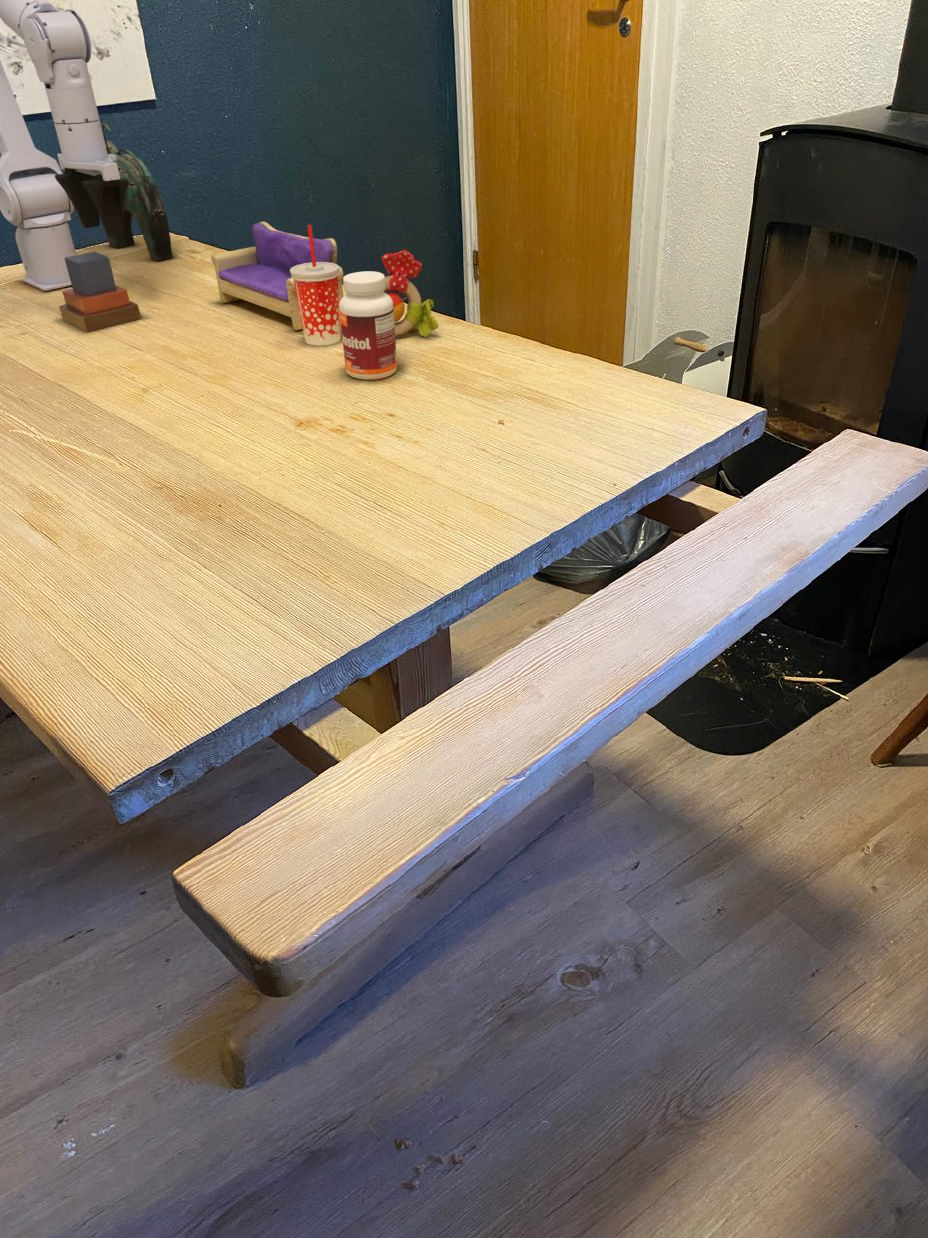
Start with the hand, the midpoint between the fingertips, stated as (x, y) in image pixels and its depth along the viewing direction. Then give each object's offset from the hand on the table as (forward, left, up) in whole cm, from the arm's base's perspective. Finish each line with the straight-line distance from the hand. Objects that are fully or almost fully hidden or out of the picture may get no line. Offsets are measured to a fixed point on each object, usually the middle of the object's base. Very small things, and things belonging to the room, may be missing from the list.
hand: (103, 230), depth 127 cm
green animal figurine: (-28, +18, -10) cm, 35 cm away
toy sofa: (+20, +15, -10) cm, 27 cm away
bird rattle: (+42, +19, -10) cm, 47 cm away
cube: (+4, -5, -6) cm, 9 cm away
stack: (+4, -5, -10) cm, 12 cm away
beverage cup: (+35, +11, -10) cm, 38 cm away
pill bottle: (+49, +8, -10) cm, 51 cm away
